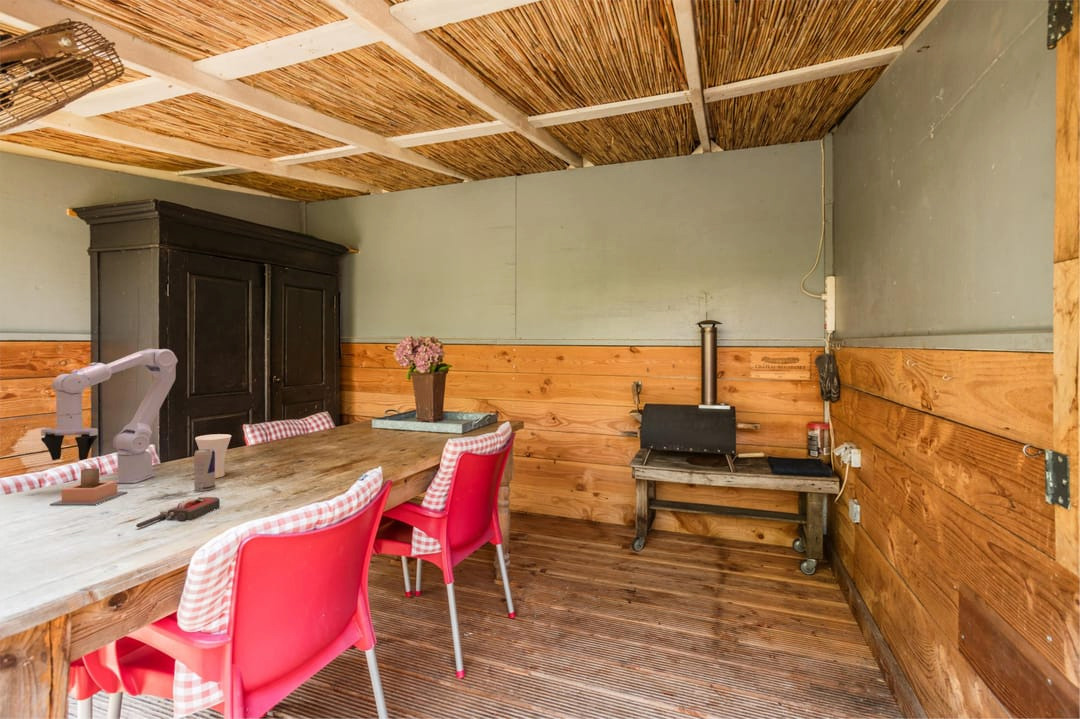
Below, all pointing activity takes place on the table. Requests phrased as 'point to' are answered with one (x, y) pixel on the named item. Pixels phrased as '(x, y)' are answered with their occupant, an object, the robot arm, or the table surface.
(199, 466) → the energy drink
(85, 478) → the walnut peg
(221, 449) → the cup
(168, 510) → the walkie-talkie
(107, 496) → the socket
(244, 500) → the table surface
